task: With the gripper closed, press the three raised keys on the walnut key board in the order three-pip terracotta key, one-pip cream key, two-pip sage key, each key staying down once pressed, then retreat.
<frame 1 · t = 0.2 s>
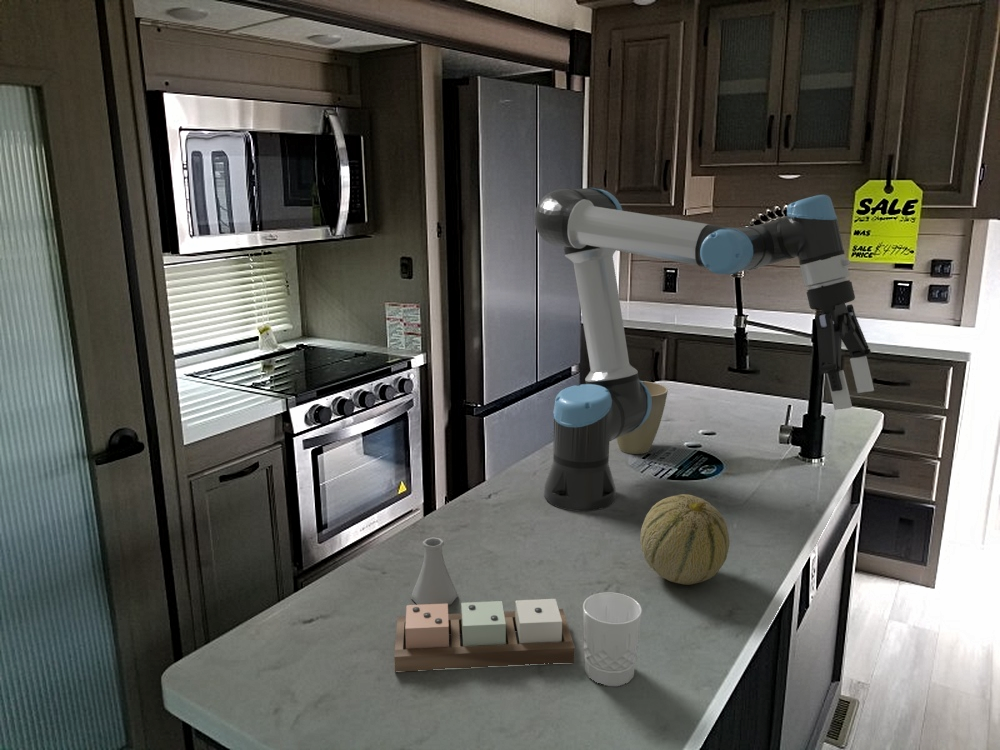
hand: (855, 400, 137), 28 cm above the worktop, tool tilted 20°, fingers open, 13 cm apart
flask: (434, 599, 125), on the worktop
white cup: (609, 672, 106), on the worktop
plant pot: (633, 449, 193), on the worktop
tile 1pip: (538, 619, 111), point 4 cm above the worktop, slide at 0.0 cm
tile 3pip: (427, 624, 110), point 4 cm above the worktop, slide at 0.0 cm
tile 2pip: (483, 622, 111), point 4 cm above the worktop, slide at 0.0 cm
cantaloupe: (681, 578, 131), on the worktop
key board: (483, 646, 112), on the worktop
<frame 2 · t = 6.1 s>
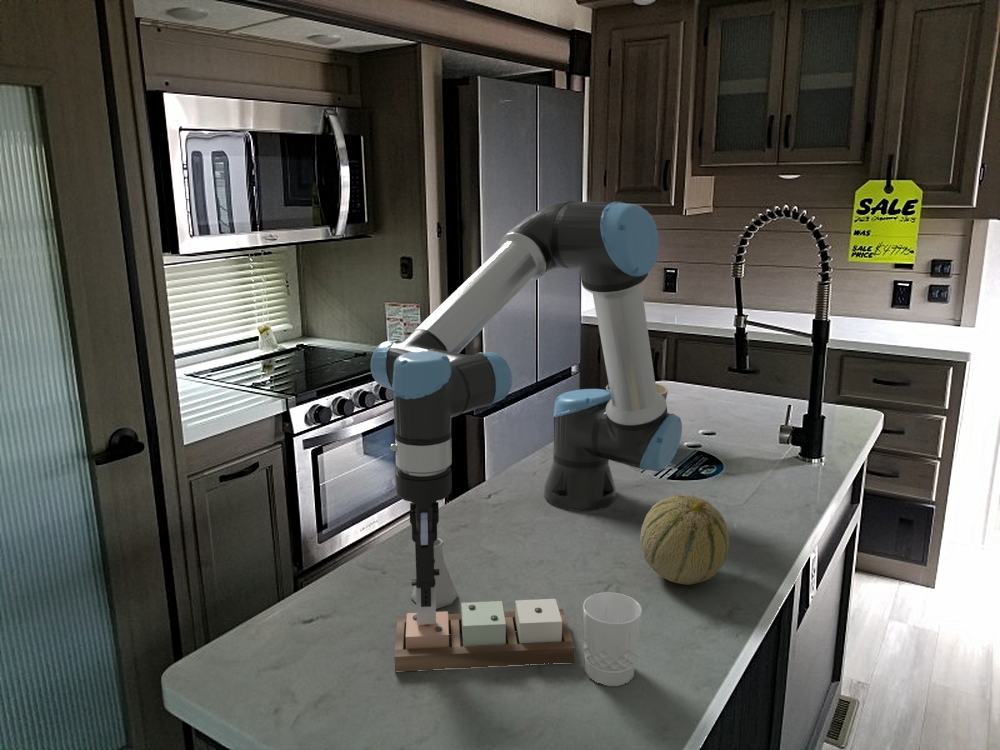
hand: (426, 621, 110), 5 cm above the worktop, tool pointing down, fingers closed
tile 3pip: (427, 633, 110), point 3 cm above the worktop, slide at 1.3 cm, touching gripper
everything else where it was.
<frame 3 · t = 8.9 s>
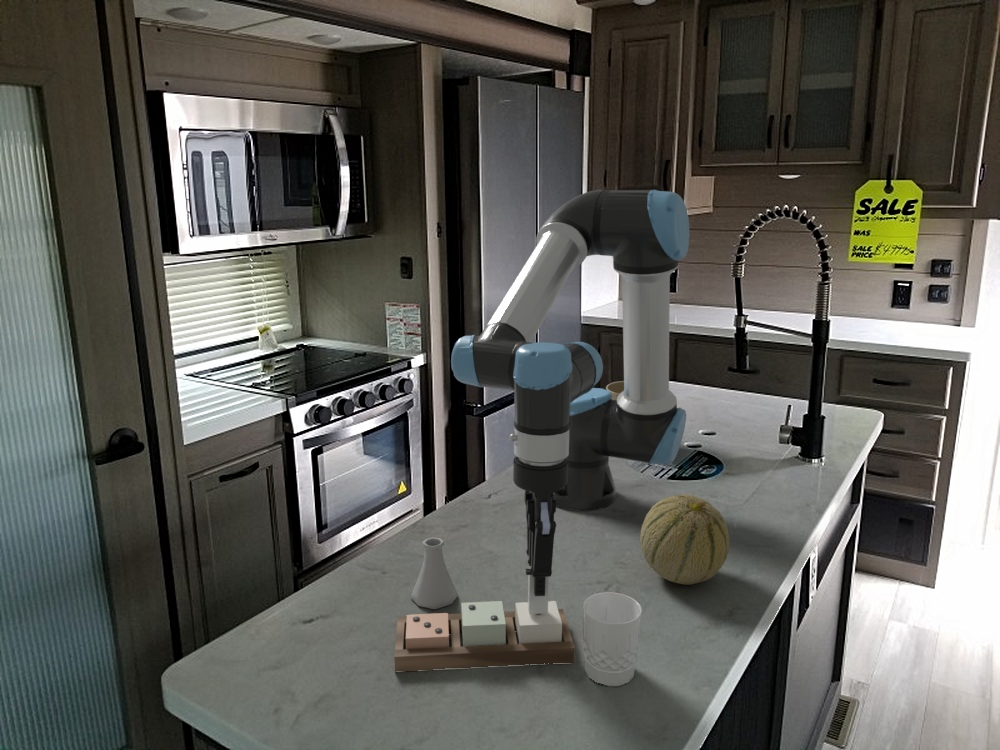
hand: (537, 610, 111), 6 cm above the worktop, tool pointing down, fingers closed
tile 1pip: (538, 622, 112), point 4 cm above the worktop, slide at 0.4 cm, touching gripper
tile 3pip: (427, 634, 111), point 2 cm above the worktop, slide at 1.6 cm
everything else where it was.
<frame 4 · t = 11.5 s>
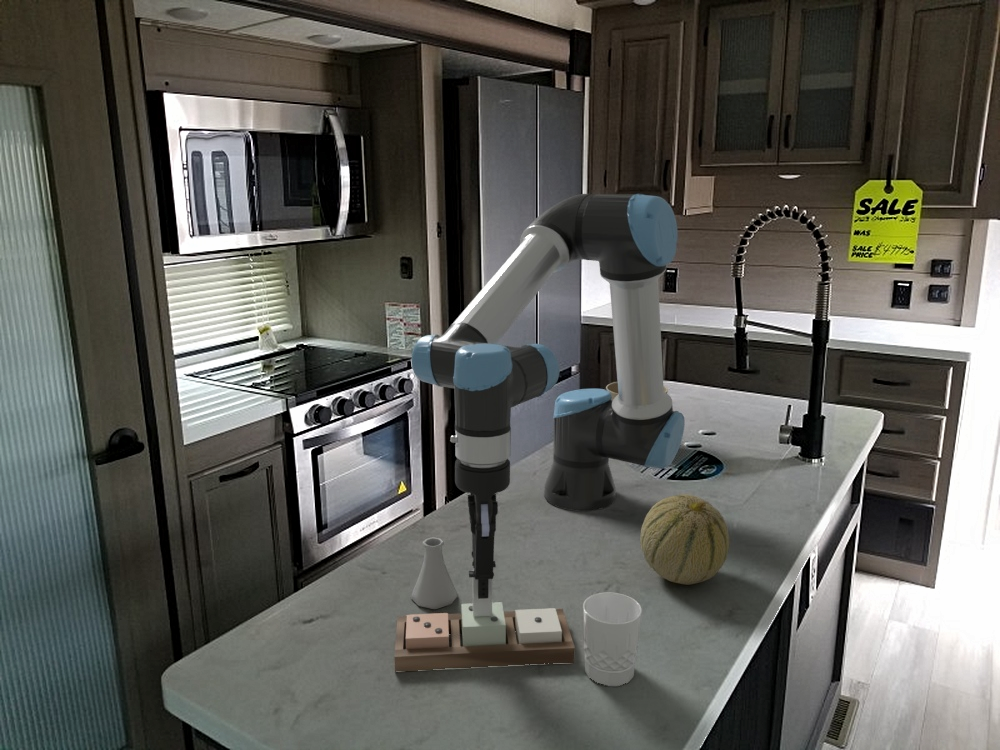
hand: (482, 613, 110), 6 cm above the worktop, tool pointing down, fingers closed
tile 1pip: (537, 629, 112), point 2 cm above the worktop, slide at 1.6 cm
tile 2pip: (483, 623, 111), point 4 cm above the worktop, slide at 0.2 cm, touching gripper
everything else where it was.
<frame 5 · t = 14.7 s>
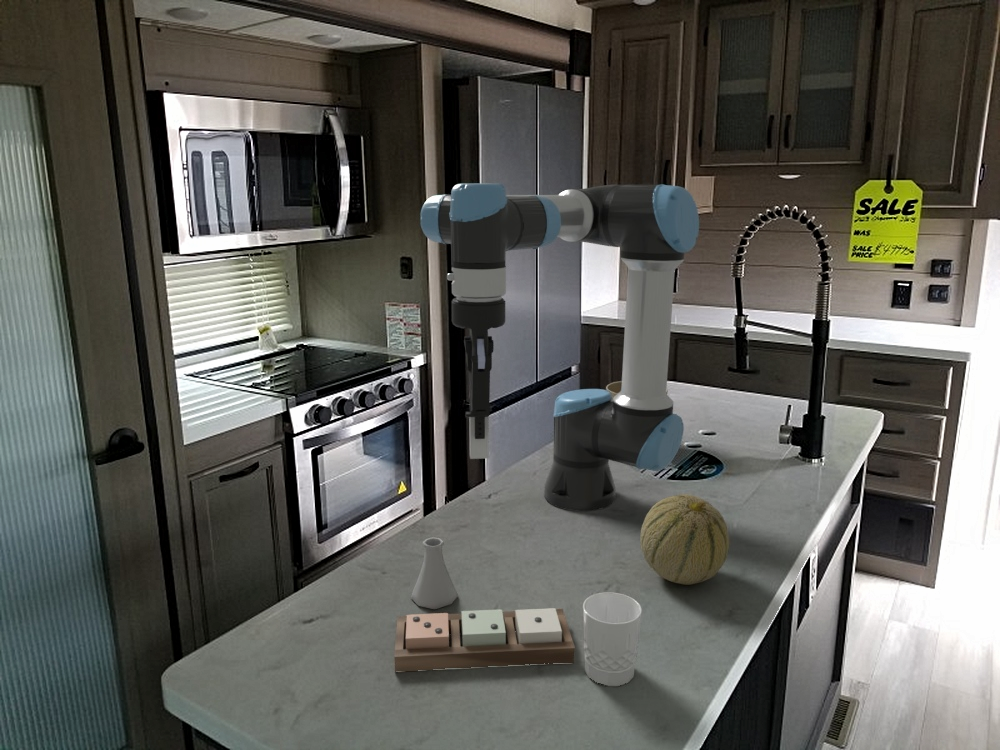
hand: (479, 456, 113), 26 cm above the worktop, tool pointing down, fingers closed
tile 2pip: (483, 630, 111), point 3 cm above the worktop, slide at 1.4 cm
everything else where it was.
at the end: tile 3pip slide at 1.6 cm; tile 1pip slide at 1.6 cm; tile 2pip slide at 1.4 cm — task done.
